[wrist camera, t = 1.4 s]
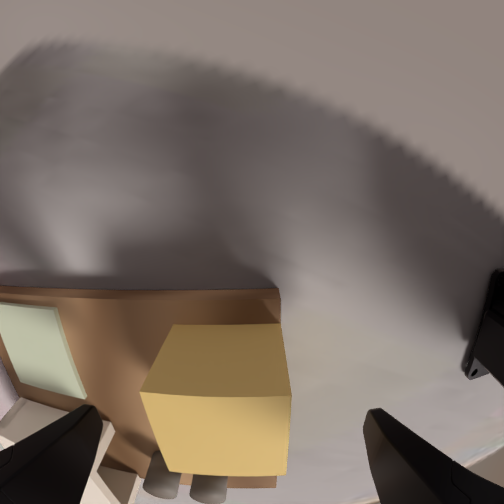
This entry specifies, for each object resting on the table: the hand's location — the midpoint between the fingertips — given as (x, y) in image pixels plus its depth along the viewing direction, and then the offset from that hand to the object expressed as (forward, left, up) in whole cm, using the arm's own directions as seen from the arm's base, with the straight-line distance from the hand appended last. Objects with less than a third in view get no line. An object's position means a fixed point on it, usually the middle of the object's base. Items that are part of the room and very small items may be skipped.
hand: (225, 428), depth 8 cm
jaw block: (0, 0, -3) cm, 3 cm away
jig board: (+6, +3, -4) cm, 8 cm away
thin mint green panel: (+10, 0, -4) cm, 11 cm away
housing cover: (+10, +7, -3) cm, 13 cm away
